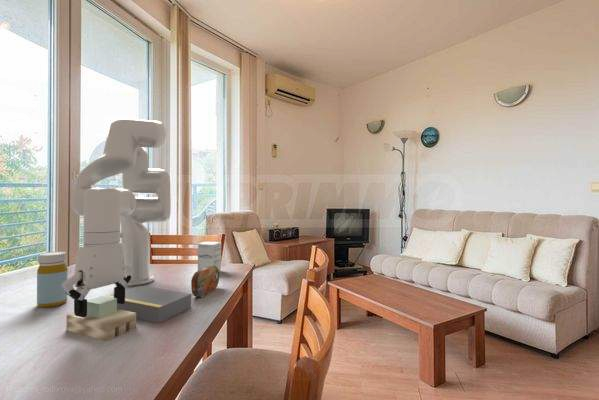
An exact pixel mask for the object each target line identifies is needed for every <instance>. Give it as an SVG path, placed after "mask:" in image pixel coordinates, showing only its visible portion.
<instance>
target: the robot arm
mask: <svg viewBox="0 0 599 400" xmlns="http://www.w3.org/2000/svg"><path fill="white" fill-rule="evenodd" d="M166 134H167V133H166V128H165V125H164V124H163V122H162V121H159V120H149V119H148V120H147V119H137V118H136V119H135V118H126V117H125V118H124V117H123V118H120V117H119V118H114V119H112V120H110V122H109V124H108V131H107V134H106V139H105V144H104V147H103V148H104V149H103V153H102V155H101V156H99V157H98V158H96V159H95V160H93V161H92V162H90V163H88V165H86V166H85V167H84V168H83V169H82V170H81V171H80V172H79V174H78V175H77V177H76V180H75V184H74V187H73V191H72V194H71V195H72V196H71V208H72V211H73V212H74V213H75V214H77V215H79V216H82V217H83V233H82V234H83V240H82V241H83V243H82V245H79V247H78V250H77V254H76V259H75V265H74V274H73V275H72V276H70V277H68V278H67V280H66V281H65V282H63V283H62V287H63V289H64V290H65V291H66V294H67V296H68V297H70V298H71V299H72V300H73V312H74V313H75V316H79V317H86V316H87V300H88V299H87V298H86V296H87V295H88V294H89V292H90V291H91V290H96V289H98V288H103V287H107V286H110V285H115V286H114V287H113V294H114V298H117V303H119V304H124V303H125V290H126V288H128V286H129V287H131V286H133V287H135V286H142V285H146V284H149V283H151V282H153V281H154V280H155V275H153V274H150V273H151V272H150V271H151V270H150V266H151V265H150V264H151V263H150V262H151V259H150V257H151V256H150V255H151V252H150V251H151V234H150V232H149V230H148V228H147V227H146V226H145V225H144V224H146V223H165V222H168V221H169V220H170V218H171V206H172V205H171V202H172V201H171V200H172V199H171V197H172V196H171V178H170V174H169V172H168V171H167V170H165V169H161V168H150V167H149V154H148V152H147V150H146V149H145V148H150V149H151V148H152V149H158V148H160V147H161V146H162V145H164V143H165V140H166V136H167V135H166ZM119 174H122V187H123V188H119V187H118V188H117V187H114V188H113V187H94V186H95V185H96V184H97V183H99V182H101V181H102V180H105V179H107V178H110V177H114V176H117V175H119ZM135 194H136V195H137V194H138V195H140V194H141V195H155V196H156V197H151V196H150V197H146V196H138V197H137V196H135ZM74 287H75V288H76V289H75V288H74Z"/></svg>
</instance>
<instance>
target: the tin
mask: <svg viewBox="0 0 599 400" xmlns="http://www.w3.org/2000/svg"><path fill="white" fill-rule="evenodd" d="M192 275H193V276H192V277H191V280H190V283H191V284H190V286H191V287H190V288H191V295H193V296H194V297H198V298H199V297H200V298H205V297H206V296H207V295H209V294H211V293H212V292H213V291H215V290H216V289H217V288H218V285H219V283H220V282H219V281H220V271H218V268H217V267H216V266H207V267H205V268H203V269H201V270H199V271H198V270H197V271H195V272H194V274H192Z"/></svg>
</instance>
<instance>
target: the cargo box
mask: <svg viewBox="0 0 599 400" xmlns="http://www.w3.org/2000/svg"><path fill="white" fill-rule="evenodd" d="M115 312H117V298H112V297H107V295H100V296H98V297H94V298H91V299H87V316H90V317H94V318H99V319H100V318H102V317H105V316H107V315H110V314H113V313H115Z"/></svg>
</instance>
